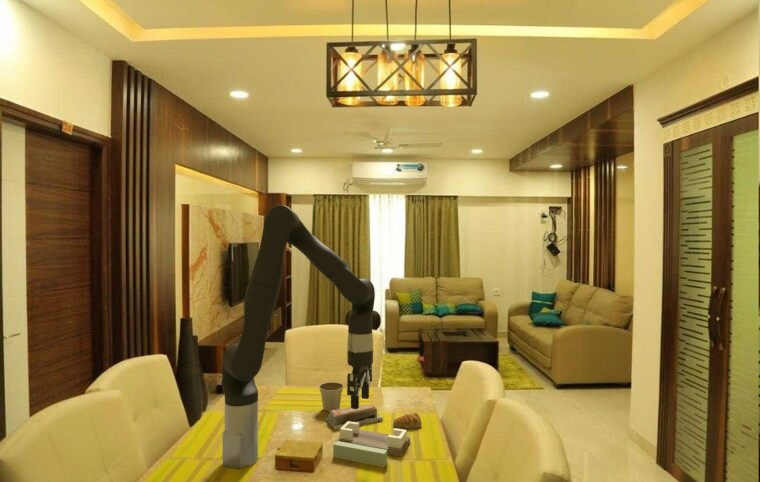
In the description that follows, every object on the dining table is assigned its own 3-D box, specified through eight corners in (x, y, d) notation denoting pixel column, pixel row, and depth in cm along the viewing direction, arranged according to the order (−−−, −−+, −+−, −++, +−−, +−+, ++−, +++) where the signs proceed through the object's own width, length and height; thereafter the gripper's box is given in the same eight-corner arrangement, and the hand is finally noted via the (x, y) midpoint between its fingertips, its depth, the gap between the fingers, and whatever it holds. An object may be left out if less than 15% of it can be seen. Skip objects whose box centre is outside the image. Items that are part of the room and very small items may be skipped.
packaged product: (336, 417, 153) (325, 407, 162) (336, 432, 153) (325, 421, 162) (383, 408, 161) (370, 399, 170) (383, 422, 161) (370, 412, 170)
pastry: (397, 431, 153) (397, 420, 153) (390, 424, 159) (390, 413, 159) (423, 427, 156) (423, 416, 156) (415, 420, 162) (415, 409, 162)
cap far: (351, 440, 142) (351, 430, 142) (339, 438, 143) (339, 428, 143) (359, 432, 148) (359, 422, 148) (347, 430, 149) (347, 421, 149)
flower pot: (327, 415, 166) (327, 391, 166) (314, 408, 173) (314, 385, 173) (348, 409, 171) (348, 386, 171) (334, 402, 179) (335, 380, 179)
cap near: (400, 448, 137) (400, 438, 137) (388, 446, 138) (388, 436, 138) (406, 439, 143) (406, 430, 143) (394, 437, 144) (394, 428, 144)
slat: (384, 467, 129) (384, 453, 129) (333, 457, 134) (333, 444, 134) (387, 463, 131) (387, 450, 131) (336, 454, 137) (336, 440, 137)
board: (400, 456, 135) (400, 451, 135) (335, 445, 142) (335, 440, 142) (409, 442, 144) (409, 437, 144) (348, 432, 151) (348, 428, 151)
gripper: (357, 341, 141) (357, 394, 141) (338, 352, 128) (338, 410, 128) (380, 343, 139) (380, 396, 139) (363, 354, 125) (363, 413, 125)
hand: (360, 403), depth 133 cm, fingers open, 8 cm apart
